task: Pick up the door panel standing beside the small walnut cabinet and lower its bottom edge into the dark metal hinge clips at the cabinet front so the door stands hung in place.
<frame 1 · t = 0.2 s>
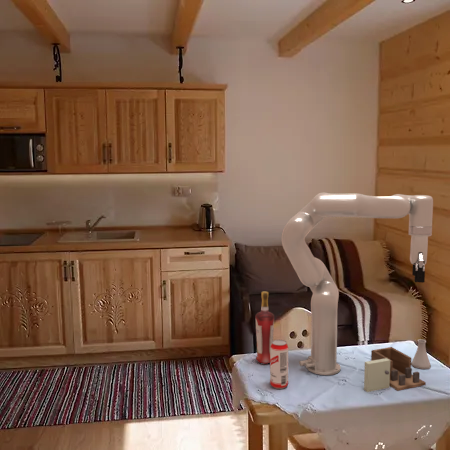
hand: (418, 278, 179), 37 cm above the table, tool pointing down, fingers open, 9 cm apart
door: (376, 388, 176), on the table
flask: (420, 366, 195), on the table
liquor: (264, 362, 200), on the table
beer can: (279, 386, 179), on the table
cabinet: (394, 377, 184), on the table
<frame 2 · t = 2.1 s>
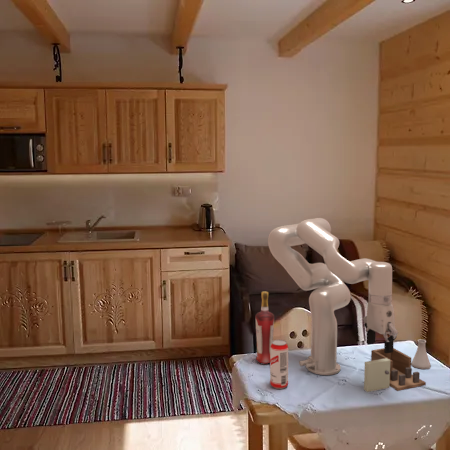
hand: (379, 347, 173), 15 cm above the table, tool pointing down, fingers open, 9 cm apart
nothing on the table moved.
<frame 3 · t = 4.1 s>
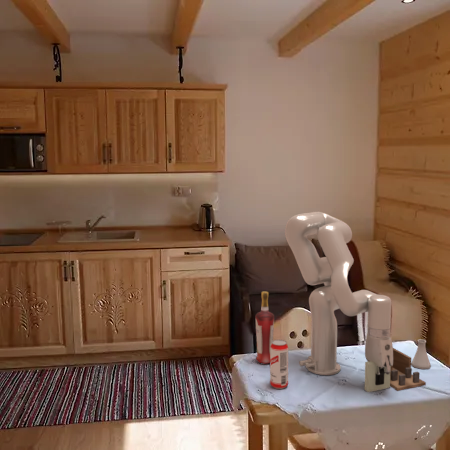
hand: (377, 382, 176), 2 cm above the table, tool pointing down, fingers closed on door, 2 cm apart
door: (377, 388, 176), on the table, touching gripper
everything else where it was.
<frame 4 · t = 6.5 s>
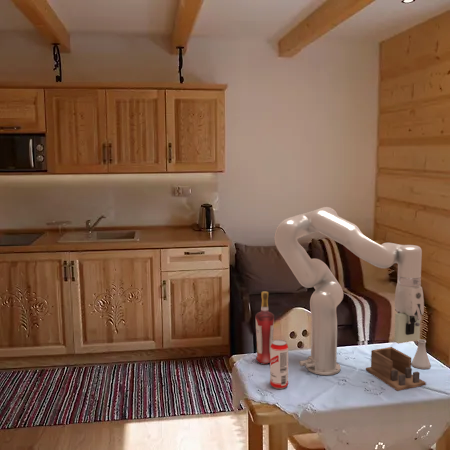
hand: (407, 332, 177), 19 cm above the table, tool pointing down, fingers closed on door
door: (407, 340, 177), point 16 cm above the table, touching gripper
everything else where it was.
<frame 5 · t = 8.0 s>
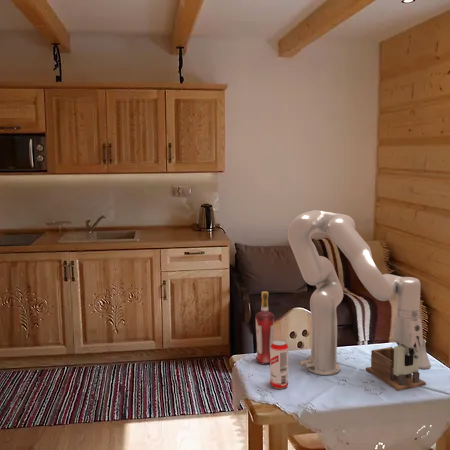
hand: (406, 363, 178), 7 cm above the table, tool pointing down, fingers closed on door
door: (406, 372, 179), point 4 cm above the table, touching gripper
everything else where it was.
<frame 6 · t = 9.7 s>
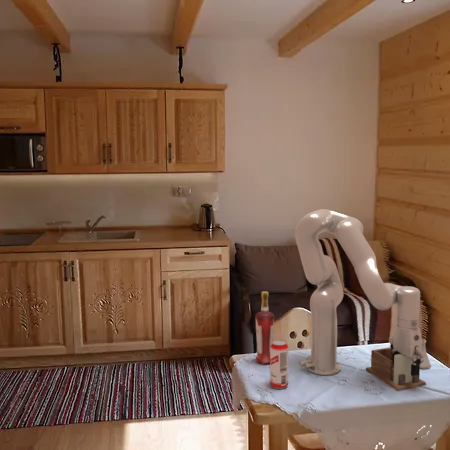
hand: (405, 369, 179), 5 cm above the table, tool pointing down, fingers open, 9 cm apart
door: (405, 381, 179), point 1 cm above the table, touching cabinet
everything else where it was.
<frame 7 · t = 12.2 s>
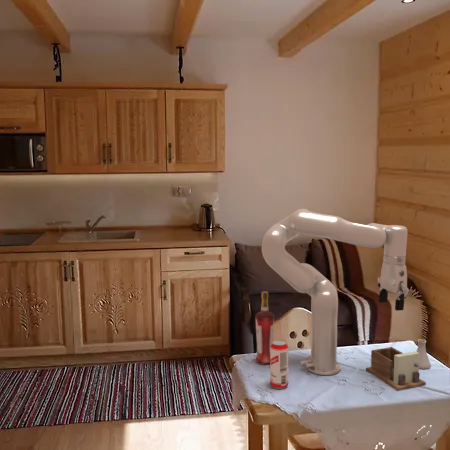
hand: (390, 306, 185), 26 cm above the table, tool pointing down, fingers open, 9 cm apart
nothing on the table moved.
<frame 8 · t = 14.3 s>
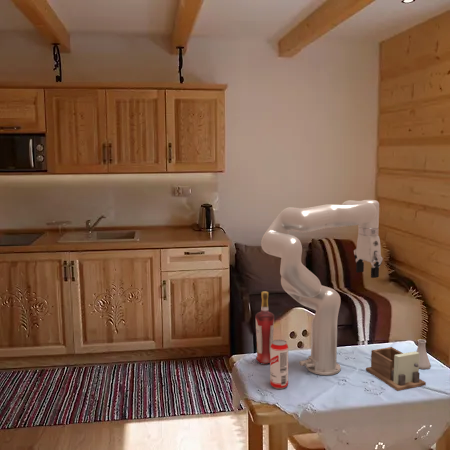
hand: (367, 274, 200), 33 cm above the table, tool pointing down, fingers open, 9 cm apart
nothing on the table moved.
at the end: door 0.3 cm from the target spot on the cabinet, point 1.0 cm above the cabinet's base; door tilted 0°; the gripper is holding nothing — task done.
